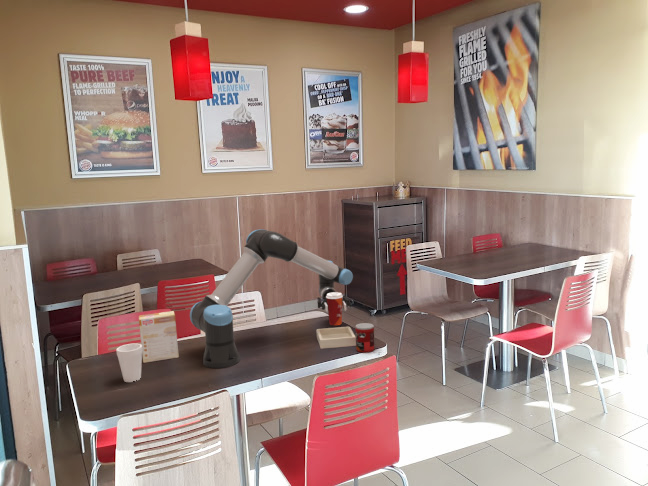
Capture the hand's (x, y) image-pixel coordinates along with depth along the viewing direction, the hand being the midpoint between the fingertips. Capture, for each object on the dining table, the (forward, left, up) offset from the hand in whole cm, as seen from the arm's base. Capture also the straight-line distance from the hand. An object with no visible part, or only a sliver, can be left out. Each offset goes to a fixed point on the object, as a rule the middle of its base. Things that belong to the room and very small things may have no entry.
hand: (336, 308), depth 236 cm
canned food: (+11, -9, -17) cm, 22 cm away
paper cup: (0, +5, -9) cm, 10 cm away
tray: (0, +5, -17) cm, 18 cm away
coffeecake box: (-78, +2, -17) cm, 80 cm away
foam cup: (-85, -20, -17) cm, 89 cm away
